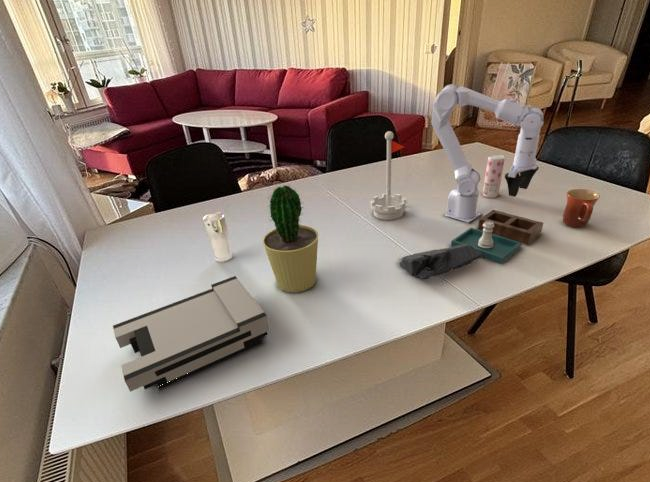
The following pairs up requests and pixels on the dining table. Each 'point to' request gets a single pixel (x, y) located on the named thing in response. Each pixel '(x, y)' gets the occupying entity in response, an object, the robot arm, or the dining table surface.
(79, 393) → the dining table surface
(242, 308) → the game console
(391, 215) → the flag stand
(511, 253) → the tray
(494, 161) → the beverage can
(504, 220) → the wooden compartment box
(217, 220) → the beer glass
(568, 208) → the mug
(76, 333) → the dining table surface
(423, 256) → the dark slate chunk
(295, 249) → the potted cactus
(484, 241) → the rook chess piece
